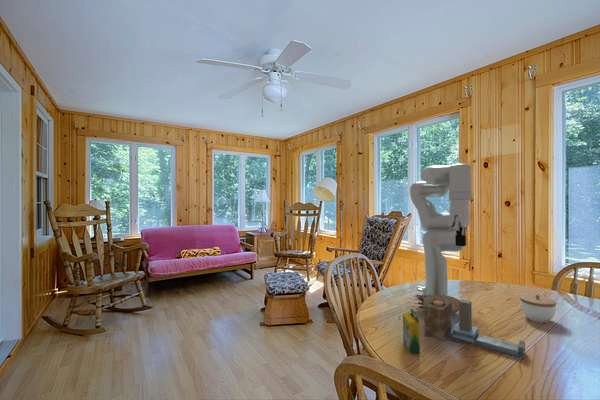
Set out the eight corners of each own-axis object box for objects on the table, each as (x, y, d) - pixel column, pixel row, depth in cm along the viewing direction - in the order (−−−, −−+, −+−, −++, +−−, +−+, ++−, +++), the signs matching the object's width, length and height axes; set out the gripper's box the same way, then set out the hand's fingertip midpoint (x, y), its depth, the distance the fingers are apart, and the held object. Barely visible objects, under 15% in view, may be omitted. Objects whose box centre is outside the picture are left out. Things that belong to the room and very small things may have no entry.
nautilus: (401, 314, 122) (412, 305, 134) (460, 323, 109) (466, 312, 121) (400, 294, 122) (411, 287, 134) (458, 301, 109) (465, 292, 121)
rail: (445, 337, 99) (445, 327, 99) (449, 332, 103) (449, 322, 103) (523, 359, 85) (523, 348, 85) (525, 352, 89) (525, 341, 89)
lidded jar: (563, 326, 107) (563, 300, 107) (529, 324, 109) (529, 298, 109) (545, 314, 117) (544, 291, 117) (514, 313, 119) (514, 290, 119)
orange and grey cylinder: (432, 322, 103) (431, 302, 103) (435, 319, 106) (434, 299, 106) (441, 324, 101) (441, 304, 101) (444, 321, 103) (444, 301, 103)
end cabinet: (424, 334, 102) (424, 306, 102) (434, 325, 109) (434, 298, 109) (443, 340, 98) (442, 310, 98) (452, 330, 105) (451, 302, 105)
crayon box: (402, 342, 96) (402, 307, 96) (411, 342, 96) (411, 307, 96) (410, 354, 89) (409, 316, 89) (420, 354, 89) (419, 316, 89)
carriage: (452, 336, 97) (452, 302, 97) (458, 329, 102) (458, 296, 102) (473, 342, 93) (472, 306, 93) (478, 334, 98) (477, 300, 98)
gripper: (454, 197, 119) (455, 242, 119) (443, 197, 108) (443, 247, 108) (476, 196, 114) (476, 244, 114) (466, 196, 103) (466, 249, 103)
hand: (460, 245), depth 111 cm, fingers closed
